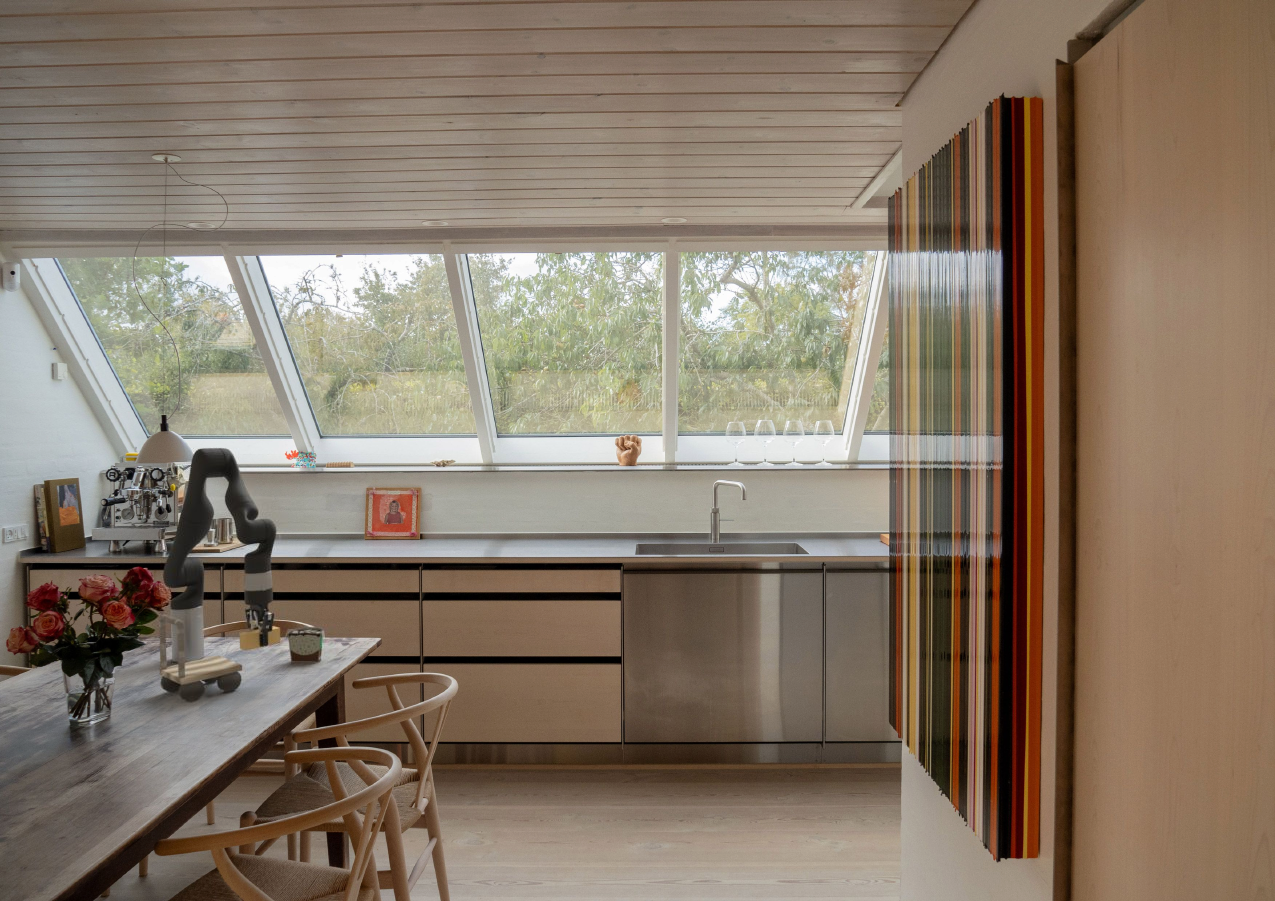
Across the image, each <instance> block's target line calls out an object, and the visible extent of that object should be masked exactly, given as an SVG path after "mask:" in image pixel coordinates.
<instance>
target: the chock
mask: <svg viewBox="0 0 1275 901" xmlns="http://www.w3.org/2000/svg"><path fill="white" fill-rule="evenodd" d="M238 634H239V649H240V650H243V651H246V652H247V651H251V650H254V649H259V648H262V647H261V646H260V639H259V634H260V633H259V629H257V630H253V631H251V630H248V631H243V632H239V633H238ZM277 644H281V627H278V626H275V625H273V627H272V631H271V632H269V633H268V645H267V646H264V647H268V646H269V647H270V646H273V645H277ZM264 647H263V648H264Z"/></svg>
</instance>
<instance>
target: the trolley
mask: <svg viewBox="0 0 1275 901" xmlns="http://www.w3.org/2000/svg"><path fill="white" fill-rule="evenodd" d="M166 623H167V624H170V625H171V624H173V625H176V626H177V643H178V662H177V664H174V665H170V666H168V662H167V661H168V660H167V658H168V657H167V634H166V632H167V631H166ZM183 624H184V623H183V621H181V620H178V619H175V618H172V617H171V616H170V615H166V614H164V613H161V614H160V615H159V616H158V627H159V628H158V629H159V630H158V631H159V632H158V634H159V656H160V657H159V658H160V659H159V663H160V668H158V669H159V675H160V676H162V677H161V679H160V686H161V688H162V690H164V691H166V692H168V693H176V692H178V695H179V697H180V699H181V700H183V701H185V702H188V703H193V702H196V701H197V700H199V699H201V698H202V696H203V694H204V693H205V690H206V687H205V683H206V684H213V683H215V682H216V684H217V688H218V689H219V690H220V691H222V692H226V693H232V692H235V691H236V690H237V689H238V688H239V687H240V685H241V684H242V675H241V673H240V672H241V671H243V664H241V663H240V662H236V661H233V660H231V659H228V658H225V657H224V656H221V655H215V656H210V657H209V656H208V657H206V658H201V659H198V660H195V661H189V662H185V658H184V626H183ZM212 682H213V683H212Z"/></svg>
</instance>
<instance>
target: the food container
mask: <svg viewBox="0 0 1275 901" xmlns="http://www.w3.org/2000/svg"><path fill="white" fill-rule="evenodd" d="M325 637H326V635H325V631H324V630H323V627H318V626H307V627H298V628H293V629H290V630H288V631H287V632H286V637H285V638H287V639H288V646H289V647H288V648H289V655H290V661H291V663H320V662H321V661H322V650H323V639H324V638H325Z"/></svg>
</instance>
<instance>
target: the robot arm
mask: <svg viewBox="0 0 1275 901" xmlns="http://www.w3.org/2000/svg"><path fill="white" fill-rule="evenodd" d="M190 462H191V463H190V468H189V476H188V481H187V482H188V483H187V489H186V492H185V497H184V501H183V504H182V507H181V511H180V514H179V519H178V523H177V529H176V531H175V536H174V539H173V542H172V545H171V548H170V551H169V554H168V555H167V558H166V561H165V564H164V568H163V574H162V577H163V578H162V579H163V583H164V585H165V586H166V587H167V588H169V589H178V588H179V589H180V588H184V587H186V588H185V590H184V591H183V592H182V593H180V594H179V595H177V596H175V597H174V598H172V599H171V600H170V603H169V608H170V617H172V618H175V619H178V620H181V621H183V623H184V624H183V626H184V658H185V663H187V662H191V661H196V660H200V659H204V657H205V636H204V635H205V634H204V633H205V632H204V630H205V629H204V608H203V607H204V605H203V604H204V603H203V602H204V595H205V593H204V592H205V589H204V588H205V567H204V564H203V561H202V559H201V558H199V557H196V556H195V557H194V556H193V557H188V556H189V554H190V552H192V550H193V549H194V548H196V546H197V545H199V543H201V542H202V541H203V540H204V539H205V538H206V537H207V535H208V534H209V532H210V530H211V527H212V523H213V520H214V515H215V510H214V507H213V505H212V504H213V503H211V501H210V499H209V497H208V496H207V494H206V491H205V484H206V481H207V479H208V478H210V479H212V478H225V479H226V481H227V482H228V485H227V488H226V490H225V491H226V492H225V495H224V504H225V505H226V506H225V507H226V508H227V510H228V512H229V513H230V515H231V517H232V518H233V522H234V526H235V534H236V538H237V540H238V542H240V543H241V544H243V545H248V546H249V545H258V546H257V548H256V549H255V550H253V551H250V552H247V553H245V555H244V558H243V560H244V567H243V568H244V578H243V586H244V590H243V591H244V592H243V593H244V594H243V595H244V604H245V605H247V606H249V607H247V608H245V609H244V612H245V618H246V624H247V628H248V629H250V631H253V630H257V629H259V633H260V634H259V639H260V646H261V647H260V648H264V646H265V647H268V646H267V645H268V633H269V632H271V631H272V627H273V626H274V620H275V619H274V618H275V613H274V612H271V611H270V609H269V604H270V603H272V602H273V601H274V599H273V598H274V594H273V593H274V591H273V590H274V588H273V575H272V559H271V558H272V553H273V549H274V544H275V542H276V537H277V527H276V524H275V522H274V521H273V520H272V519H271V518H260V519H259V518H258V516H259V513H260V512H259V509H258V507H257V504H256V503H255V501H254V500H253V499H252V497H251V496H250V493H249V492H248V490H247V488H246V485H245V482H244V479H243V476H242V474H241V470H240V468H239V465H238V463H237V460H236V457H235V456H234V453H233V452H232V451H231V450H230V449H228V448H226V447H225V448H223V447H213V448H211V447H205V448H204V447H203V448H198V449H196V451H194V453H193V455H192V459H191V461H190ZM257 518H258V519H257ZM170 629H171V631H170V635H171V636H170V638H171V661H172V662H174V663H178V643H177V626H176V625H173V624H171V623H170Z"/></svg>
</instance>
